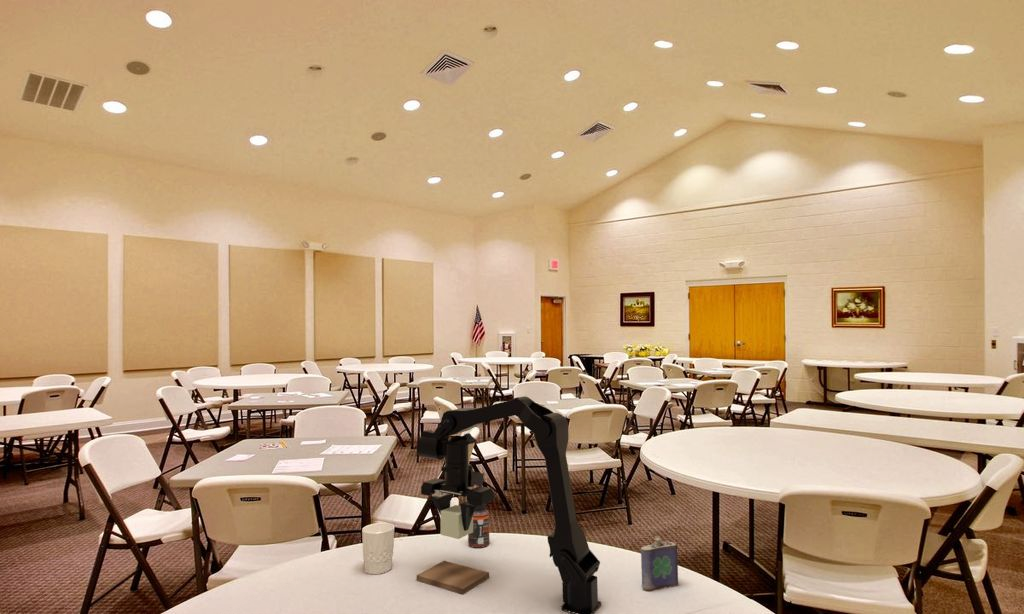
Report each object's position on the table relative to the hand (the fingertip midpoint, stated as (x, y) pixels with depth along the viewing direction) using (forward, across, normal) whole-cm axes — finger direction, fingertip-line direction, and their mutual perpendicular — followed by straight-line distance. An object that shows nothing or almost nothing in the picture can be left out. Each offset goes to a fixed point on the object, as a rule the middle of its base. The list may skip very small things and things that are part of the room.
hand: (456, 528), depth 123 cm
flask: (+11, -42, -20) cm, 48 cm away
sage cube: (+1, 0, 0) cm, 1 cm away
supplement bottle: (+12, +9, -20) cm, 25 cm away
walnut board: (+12, 0, +1) cm, 12 cm away
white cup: (+12, +20, +6) cm, 24 cm away
